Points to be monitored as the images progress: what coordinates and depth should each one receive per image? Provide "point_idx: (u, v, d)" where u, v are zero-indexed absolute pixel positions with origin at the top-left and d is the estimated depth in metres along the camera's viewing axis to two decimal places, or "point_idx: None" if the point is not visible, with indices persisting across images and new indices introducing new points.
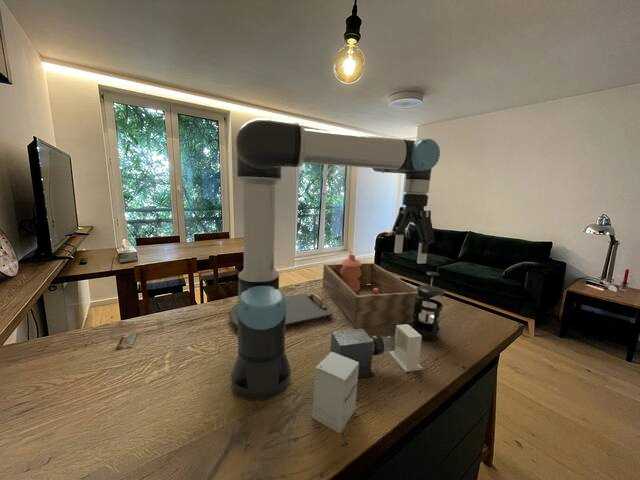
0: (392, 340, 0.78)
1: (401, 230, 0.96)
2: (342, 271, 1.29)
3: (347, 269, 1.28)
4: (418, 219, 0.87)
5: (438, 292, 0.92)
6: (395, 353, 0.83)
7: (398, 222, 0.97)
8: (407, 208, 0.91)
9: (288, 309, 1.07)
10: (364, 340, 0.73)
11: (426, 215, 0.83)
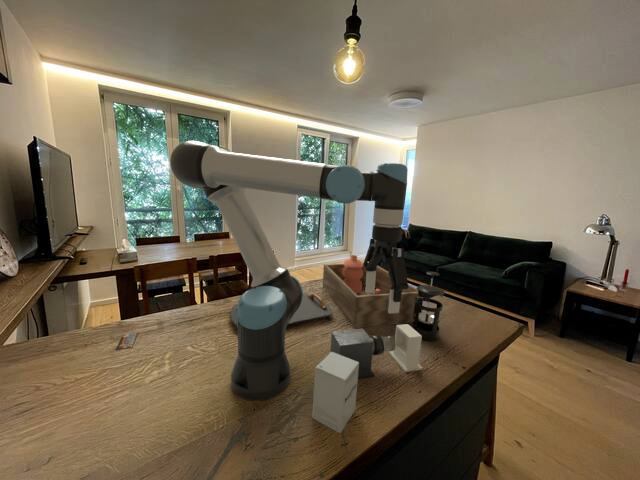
0: (392, 340, 0.78)
1: (373, 266, 0.79)
2: (344, 272, 1.29)
3: (349, 270, 1.27)
4: (390, 257, 0.70)
5: (438, 292, 0.92)
6: (395, 353, 0.83)
7: (369, 256, 0.80)
8: (378, 242, 0.74)
9: None
10: (364, 340, 0.73)
11: (399, 255, 0.66)
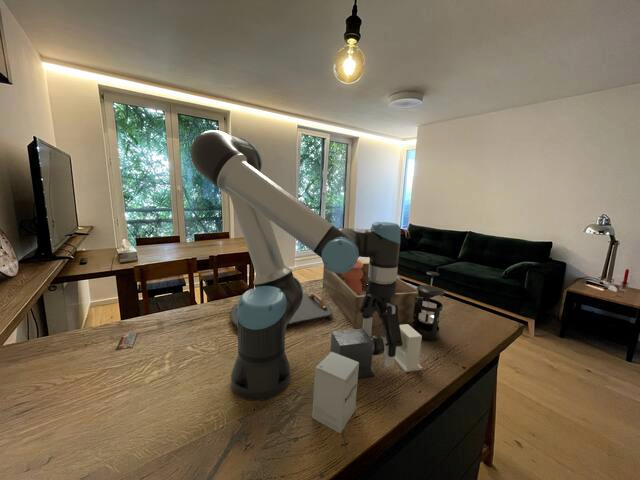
0: None
1: (369, 314, 0.82)
2: None
3: (349, 270, 1.26)
4: (385, 311, 0.73)
5: (438, 292, 0.92)
6: None
7: (365, 304, 0.83)
8: None
9: None
10: (364, 340, 0.73)
11: (393, 312, 0.69)
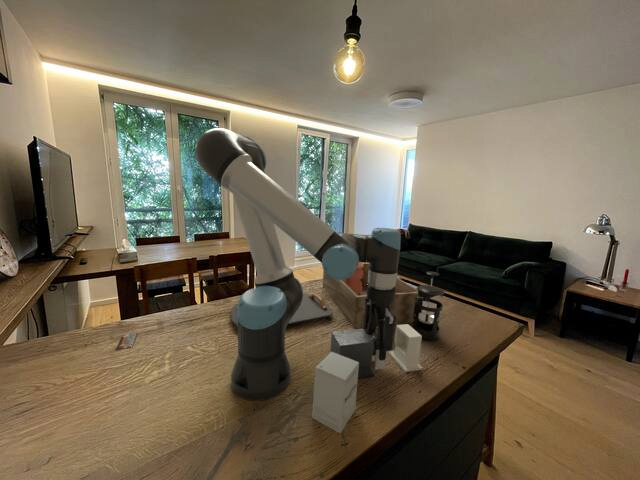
0: None
1: (372, 328, 0.80)
2: None
3: None
4: None
5: (438, 292, 0.92)
6: (395, 353, 0.83)
7: (367, 316, 0.81)
8: None
9: None
10: (364, 340, 0.73)
11: (390, 323, 0.70)
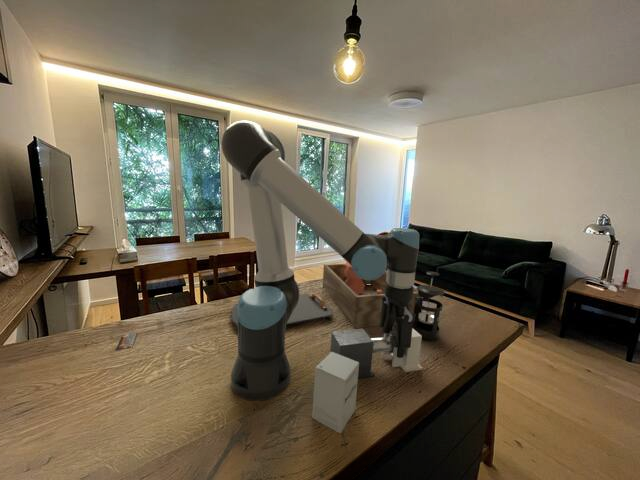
0: None
1: (389, 326, 0.81)
2: (346, 272, 1.28)
3: (351, 270, 1.27)
4: None
5: (438, 292, 0.92)
6: None
7: (384, 315, 0.83)
8: None
9: None
10: (364, 340, 0.73)
11: (409, 321, 0.71)
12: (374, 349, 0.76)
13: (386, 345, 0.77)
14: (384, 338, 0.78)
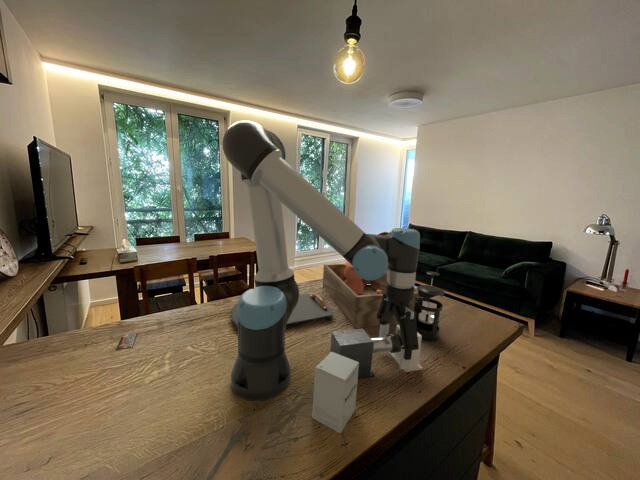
0: None
1: (386, 319, 0.84)
2: (345, 272, 1.28)
3: (350, 270, 1.27)
4: (402, 315, 0.75)
5: (438, 292, 0.92)
6: (395, 353, 0.83)
7: (382, 309, 0.84)
8: None
9: None
10: (364, 340, 0.73)
11: (411, 318, 0.71)
12: (375, 349, 0.76)
13: (387, 345, 0.77)
14: (385, 338, 0.78)
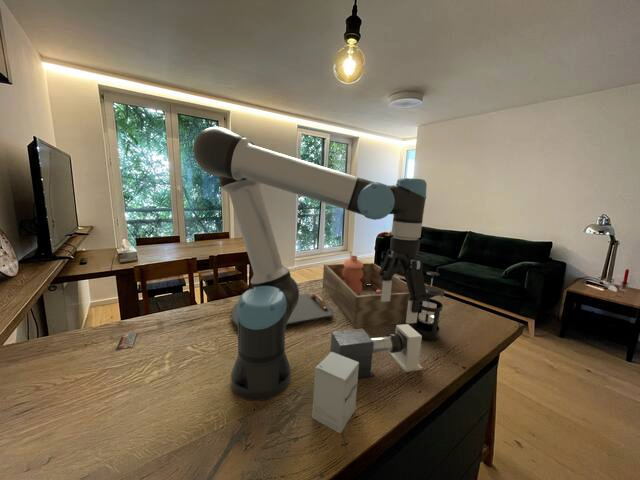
0: None
1: (389, 276, 0.82)
2: (344, 272, 1.28)
3: (349, 270, 1.27)
4: (408, 269, 0.72)
5: (438, 292, 0.92)
6: (395, 353, 0.83)
7: (385, 266, 0.82)
8: (395, 253, 0.76)
9: None
10: (364, 340, 0.73)
11: (417, 267, 0.68)
12: (375, 349, 0.76)
13: (387, 345, 0.77)
14: (385, 338, 0.78)
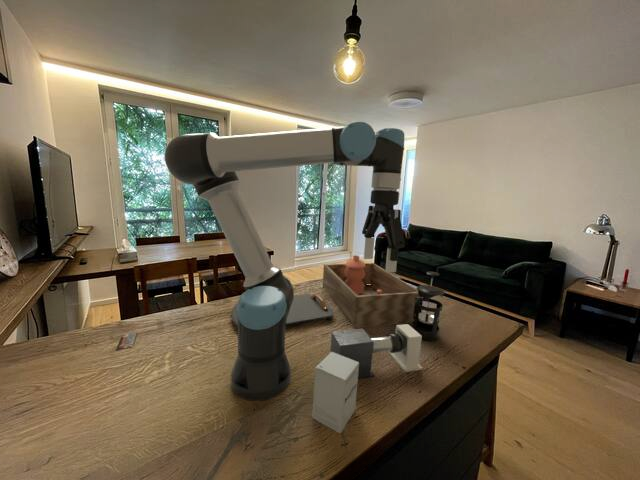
0: None
1: (371, 232, 0.83)
2: (346, 272, 1.28)
3: (351, 270, 1.27)
4: (387, 220, 0.73)
5: (438, 292, 0.92)
6: (395, 353, 0.83)
7: (368, 223, 0.83)
8: (376, 207, 0.77)
9: None
10: (364, 340, 0.73)
11: (395, 215, 0.69)
12: (375, 349, 0.76)
13: (387, 345, 0.77)
14: (385, 338, 0.78)
